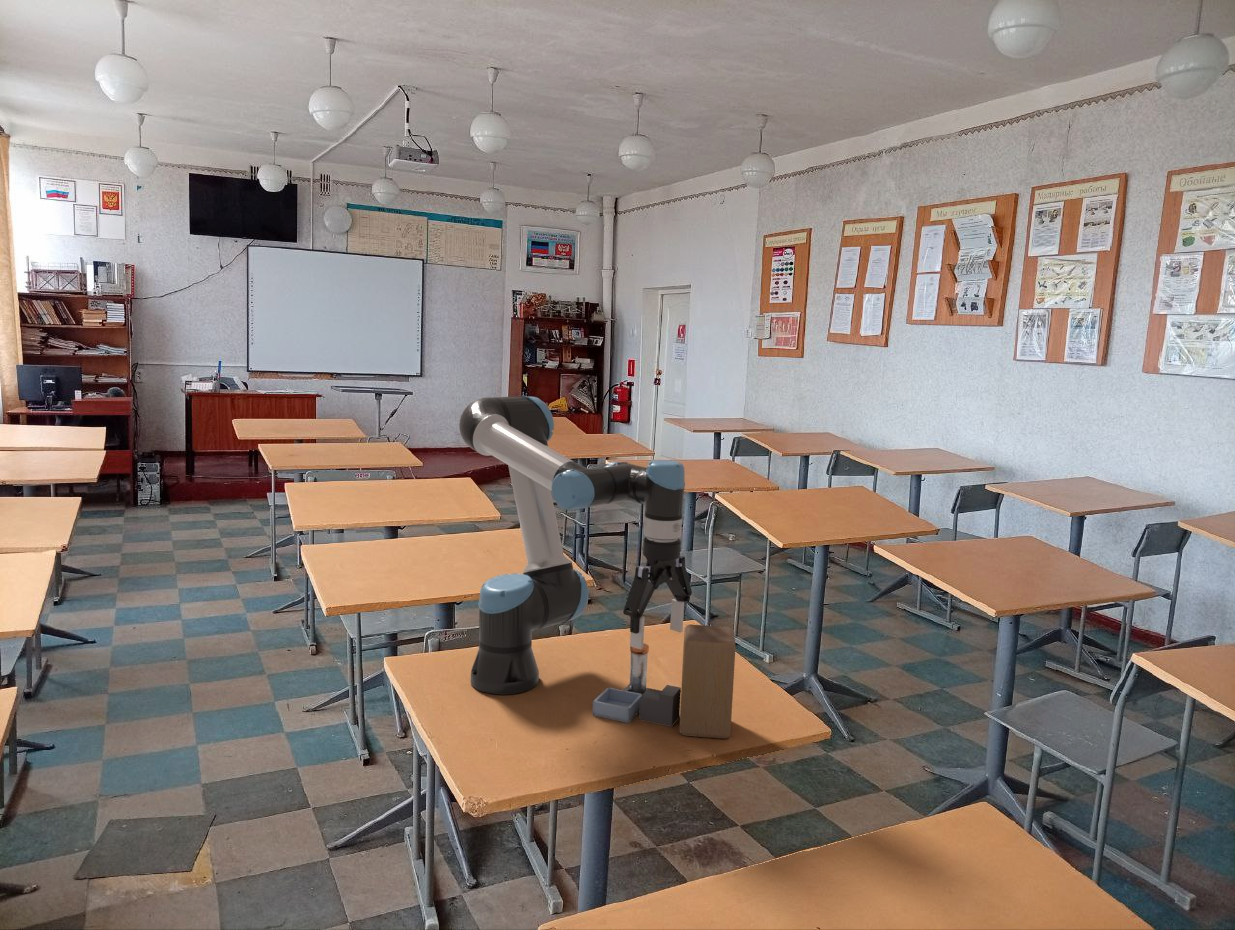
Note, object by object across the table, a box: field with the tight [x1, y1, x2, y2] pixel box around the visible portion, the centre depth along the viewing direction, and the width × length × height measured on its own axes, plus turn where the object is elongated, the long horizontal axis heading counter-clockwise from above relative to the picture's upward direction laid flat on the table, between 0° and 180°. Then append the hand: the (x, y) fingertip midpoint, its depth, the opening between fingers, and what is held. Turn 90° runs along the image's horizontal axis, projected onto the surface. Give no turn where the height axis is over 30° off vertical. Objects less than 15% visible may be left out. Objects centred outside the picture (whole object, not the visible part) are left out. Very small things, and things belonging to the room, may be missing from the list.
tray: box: [592, 686, 643, 724], centre depth 180 cm, size 8×8×3 cm
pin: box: [629, 642, 650, 694], centre depth 186 cm, size 4×4×12 cm
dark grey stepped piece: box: [638, 684, 682, 728], centre depth 178 cm, size 7×5×6 cm
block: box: [678, 624, 737, 739], centre depth 173 cm, size 10×10×20 cm
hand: (656, 638), depth 177 cm, fingers open, 13 cm apart
